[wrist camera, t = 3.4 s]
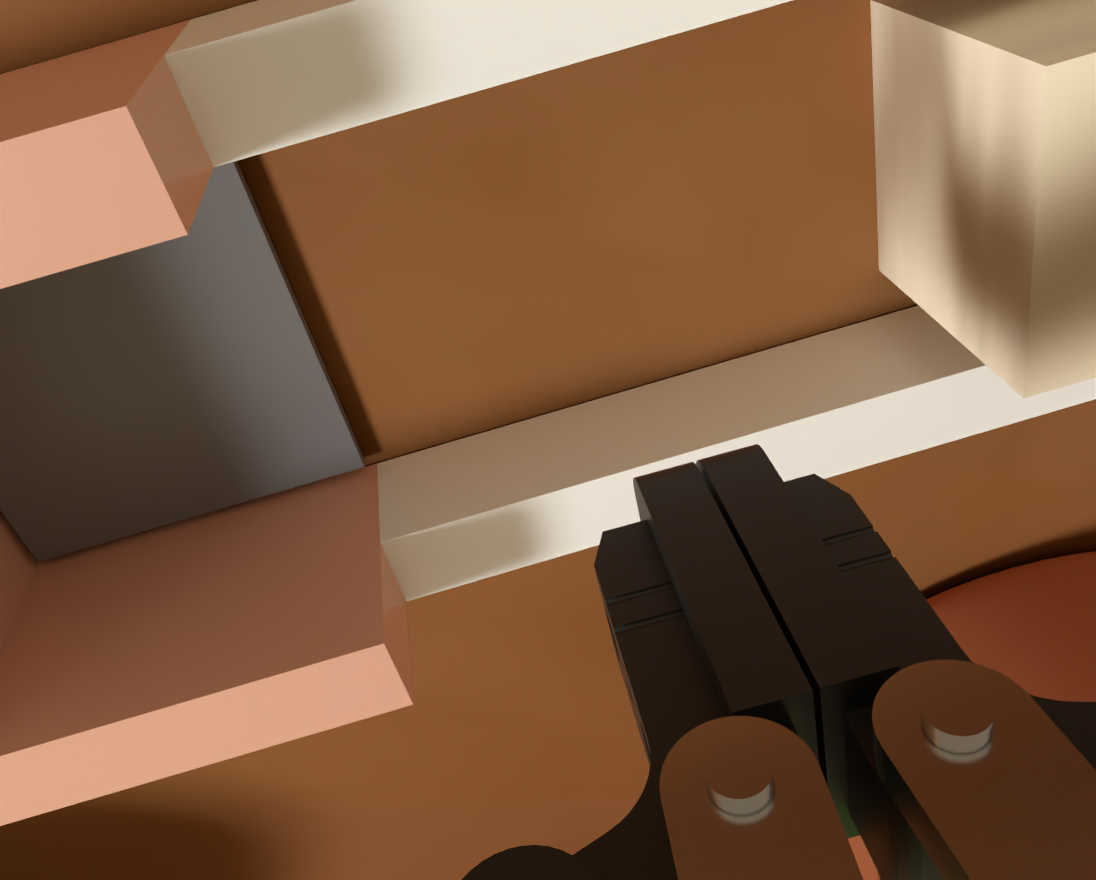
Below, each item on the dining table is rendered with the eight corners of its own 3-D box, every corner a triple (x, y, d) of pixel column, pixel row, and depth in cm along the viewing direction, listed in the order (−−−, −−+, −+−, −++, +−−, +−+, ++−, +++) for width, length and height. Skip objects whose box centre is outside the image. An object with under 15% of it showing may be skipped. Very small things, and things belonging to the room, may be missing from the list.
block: (868, -1, 16) (1046, 65, 12) (1155, -84, 16) (1432, -45, 12) (877, 268, 19) (1023, 398, 15) (1122, 197, 19) (1335, 307, 15)
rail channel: (-330, 169, 14) (-606, 316, 10) (1657, -402, 15) (2169, -483, 10) (29, 628, 20) (-56, 842, 16) (1453, 211, 20) (1734, 315, 16)
